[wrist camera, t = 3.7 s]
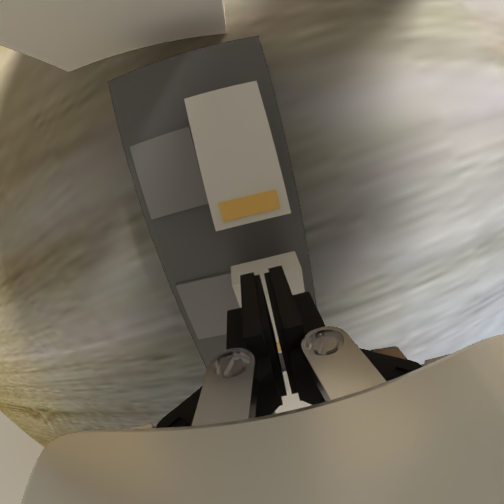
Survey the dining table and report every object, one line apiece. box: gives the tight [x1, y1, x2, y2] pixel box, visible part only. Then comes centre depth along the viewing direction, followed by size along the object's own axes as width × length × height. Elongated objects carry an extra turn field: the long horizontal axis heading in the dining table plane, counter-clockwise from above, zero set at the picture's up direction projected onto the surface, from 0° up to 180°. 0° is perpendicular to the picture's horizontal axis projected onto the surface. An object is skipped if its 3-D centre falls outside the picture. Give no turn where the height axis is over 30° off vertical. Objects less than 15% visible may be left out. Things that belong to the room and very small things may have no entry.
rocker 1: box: [184, 81, 291, 231], centre depth 12 cm, size 6×3×2 cm, turn 13°
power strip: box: [108, 36, 316, 414], centre depth 19 cm, size 31×8×4 cm, turn 14°
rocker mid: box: [231, 251, 305, 353], centre depth 15 cm, size 6×3×2 cm, turn 15°
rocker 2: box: [275, 371, 311, 413], centre depth 18 cm, size 6×3×2 cm, turn 15°
